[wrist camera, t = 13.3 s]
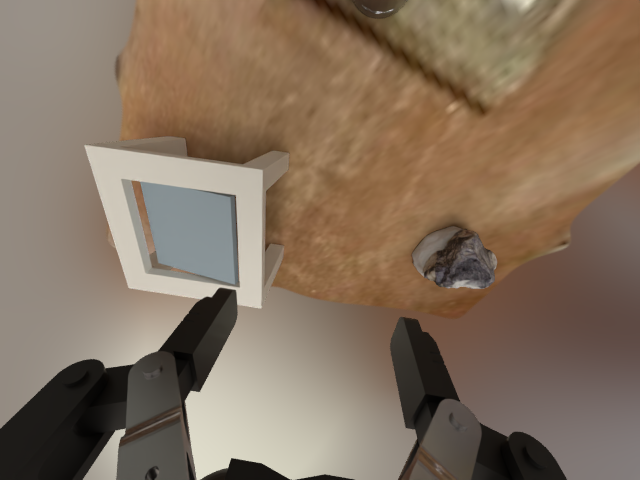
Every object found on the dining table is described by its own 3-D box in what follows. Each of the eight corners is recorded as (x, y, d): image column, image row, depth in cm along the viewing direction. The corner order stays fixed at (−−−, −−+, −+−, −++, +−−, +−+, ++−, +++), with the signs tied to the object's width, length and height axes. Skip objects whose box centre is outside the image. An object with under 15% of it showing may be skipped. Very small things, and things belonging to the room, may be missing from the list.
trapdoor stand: (169, 136, 43) (84, 144, 29) (289, 152, 43) (262, 169, 29) (185, 242, 53) (128, 288, 39) (283, 257, 53) (261, 308, 39)
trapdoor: (145, 176, 34) (139, 177, 33) (234, 195, 31) (230, 197, 31) (163, 260, 40) (158, 263, 39) (238, 281, 38) (234, 284, 37)
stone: (424, 278, 54) (413, 305, 41) (408, 237, 54) (392, 251, 42) (496, 262, 47) (510, 289, 34) (477, 215, 47) (484, 223, 34)
